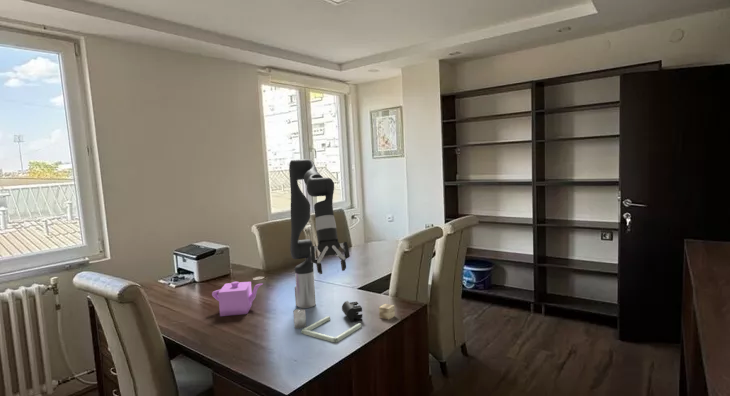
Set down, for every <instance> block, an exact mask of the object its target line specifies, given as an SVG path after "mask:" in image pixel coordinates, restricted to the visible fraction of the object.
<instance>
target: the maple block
mask: <svg viewBox="0 0 730 396" xmlns="http://www.w3.org/2000/svg"><path fill="white" fill-rule="evenodd" d="M378 312H379V314H378V315H379V318H380V319H383V320H391V319H392V318H394V317H395V314H396V313H395V304H389V303H384V304H382V305H381V306H379V307H378Z"/></svg>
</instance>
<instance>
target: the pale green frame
mask: <svg viewBox="0 0 730 396" xmlns="http://www.w3.org/2000/svg"><path fill="white" fill-rule="evenodd" d="M329 321H331V316H330V315H327V316H325V317H324V318H321V319H320V320H317V321H316V322H314V323H312V324H310V325H308V326H306V327H304V328H301V334H303V335H306V336H310V337H314V338H317V339H321V340H324V341H328V342H332V343H334V344H336V343H338V342H340V341H341V340H343V339H344V338H347V336H349V335H351V334H352V333H354V332H356V331H357V330H359V329H360V328H362V323H360V322H357V323H356V324H355V325H353V326H351V327H350V328H348V329H346V330H345V331H343V332H342V333H340V334H338V335H336V336H332V335H328V334H324V333H320V332H317V331H314V329H316V328H318V327H320V326H321V325H323V324H325V323H327V322H329ZM312 330H313V331H312Z"/></svg>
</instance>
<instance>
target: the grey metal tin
mask: <svg viewBox="0 0 730 396" xmlns="http://www.w3.org/2000/svg"><path fill="white" fill-rule="evenodd" d="M306 321H307V320H306V308H297V309H294V310H293V322H294V324H293V326H294V329H299V330H300V329H301V330H302V329H304V328H306V327H307V322H306Z"/></svg>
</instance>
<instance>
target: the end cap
mask: <svg viewBox="0 0 730 396" xmlns="http://www.w3.org/2000/svg"><path fill="white" fill-rule="evenodd" d="M341 310H342V313H343V314H344V315H345V317H346V318H347V319H348V321H350V322H351V323H356V322H357V323H359V322H363V314H362V313H360V312H363V306H361V305H360V304H359V302H358V301H352V302H351V301H350V302H349V300H346V301H344V302H343V303H342V306H341Z"/></svg>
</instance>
